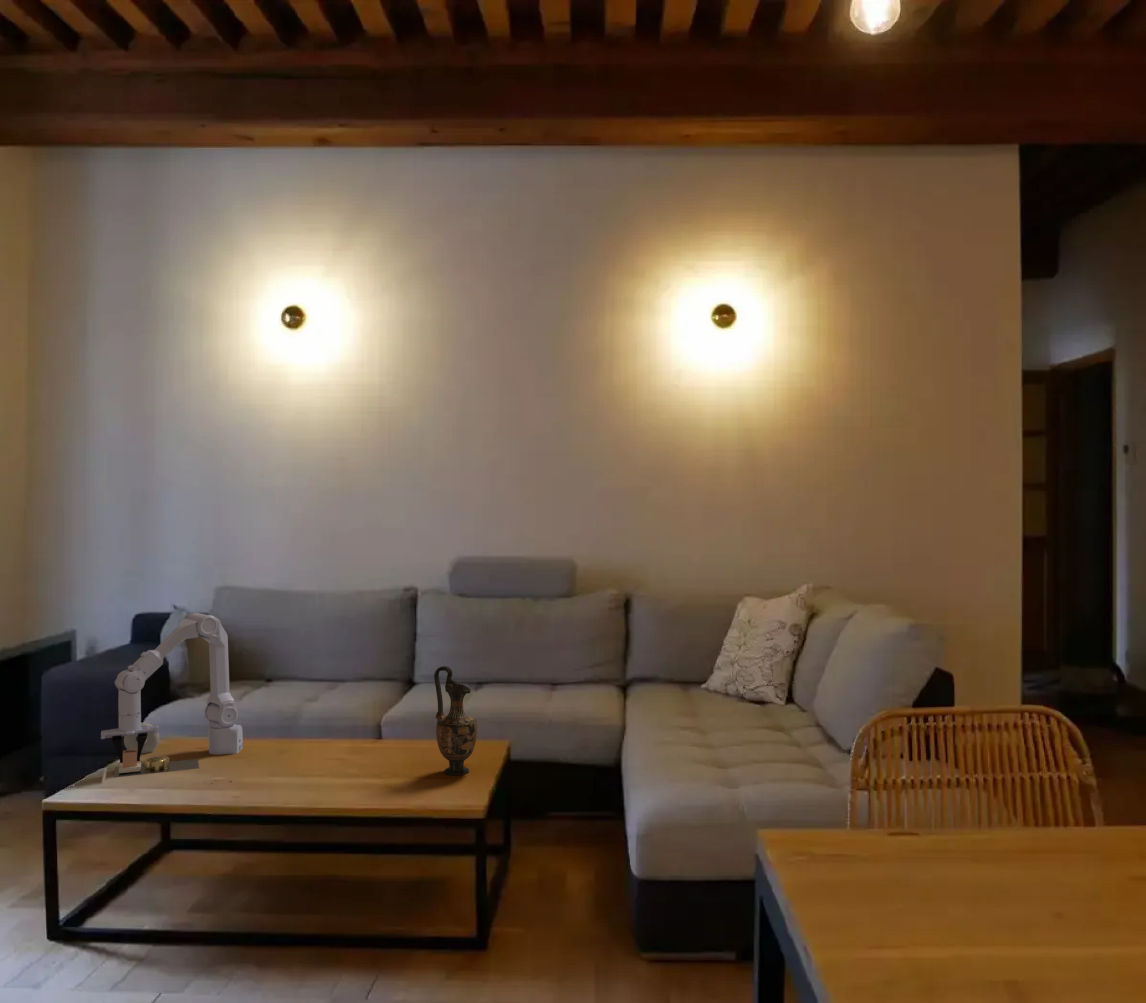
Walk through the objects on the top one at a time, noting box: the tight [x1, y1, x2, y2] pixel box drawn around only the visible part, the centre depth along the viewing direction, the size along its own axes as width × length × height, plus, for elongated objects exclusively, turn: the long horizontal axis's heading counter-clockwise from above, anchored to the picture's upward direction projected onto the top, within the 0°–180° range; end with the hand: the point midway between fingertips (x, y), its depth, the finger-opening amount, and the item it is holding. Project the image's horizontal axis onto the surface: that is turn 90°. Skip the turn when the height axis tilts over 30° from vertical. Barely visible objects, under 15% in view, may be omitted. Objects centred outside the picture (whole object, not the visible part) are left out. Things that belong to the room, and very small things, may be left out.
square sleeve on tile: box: [118, 749, 142, 773], centre depth 268 cm, size 6×6×5 cm
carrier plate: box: [113, 755, 200, 779], centre depth 270 cm, size 22×10×4 cm, turn 114°
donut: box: [123, 722, 160, 755], centre depth 286 cm, size 10×4×10 cm, turn 102°
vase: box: [433, 665, 478, 776], centre depth 271 cm, size 12×12×30 cm
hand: (130, 761), depth 267 cm, fingers open, 4 cm apart
